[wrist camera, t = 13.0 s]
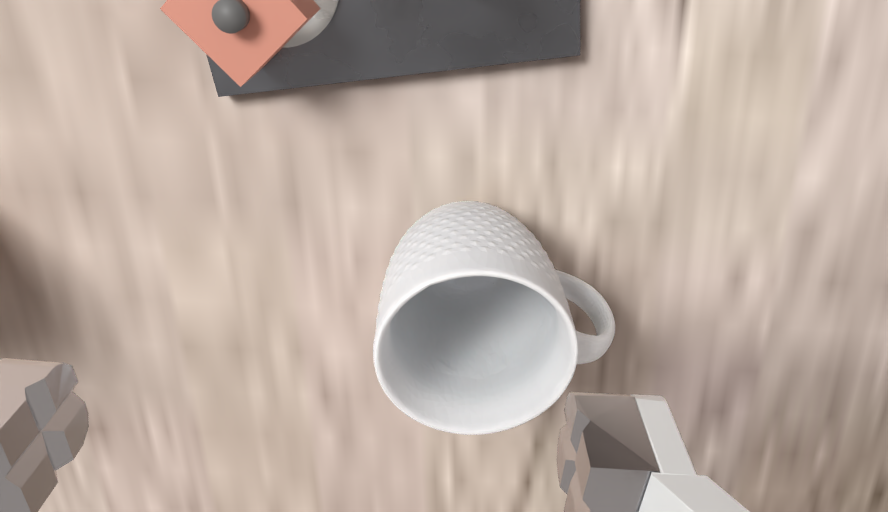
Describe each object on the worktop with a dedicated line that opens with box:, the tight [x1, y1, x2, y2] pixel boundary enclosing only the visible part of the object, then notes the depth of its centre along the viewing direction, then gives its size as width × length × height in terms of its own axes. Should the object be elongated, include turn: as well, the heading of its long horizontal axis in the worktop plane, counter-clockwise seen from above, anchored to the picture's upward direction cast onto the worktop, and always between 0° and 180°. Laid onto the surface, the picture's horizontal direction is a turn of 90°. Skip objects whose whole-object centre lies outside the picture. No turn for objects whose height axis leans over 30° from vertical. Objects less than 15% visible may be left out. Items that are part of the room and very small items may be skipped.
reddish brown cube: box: [160, 0, 321, 87], centre depth 33 cm, size 5×5×5 cm
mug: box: [373, 201, 615, 435], centre depth 39 cm, size 15×11×13 cm
